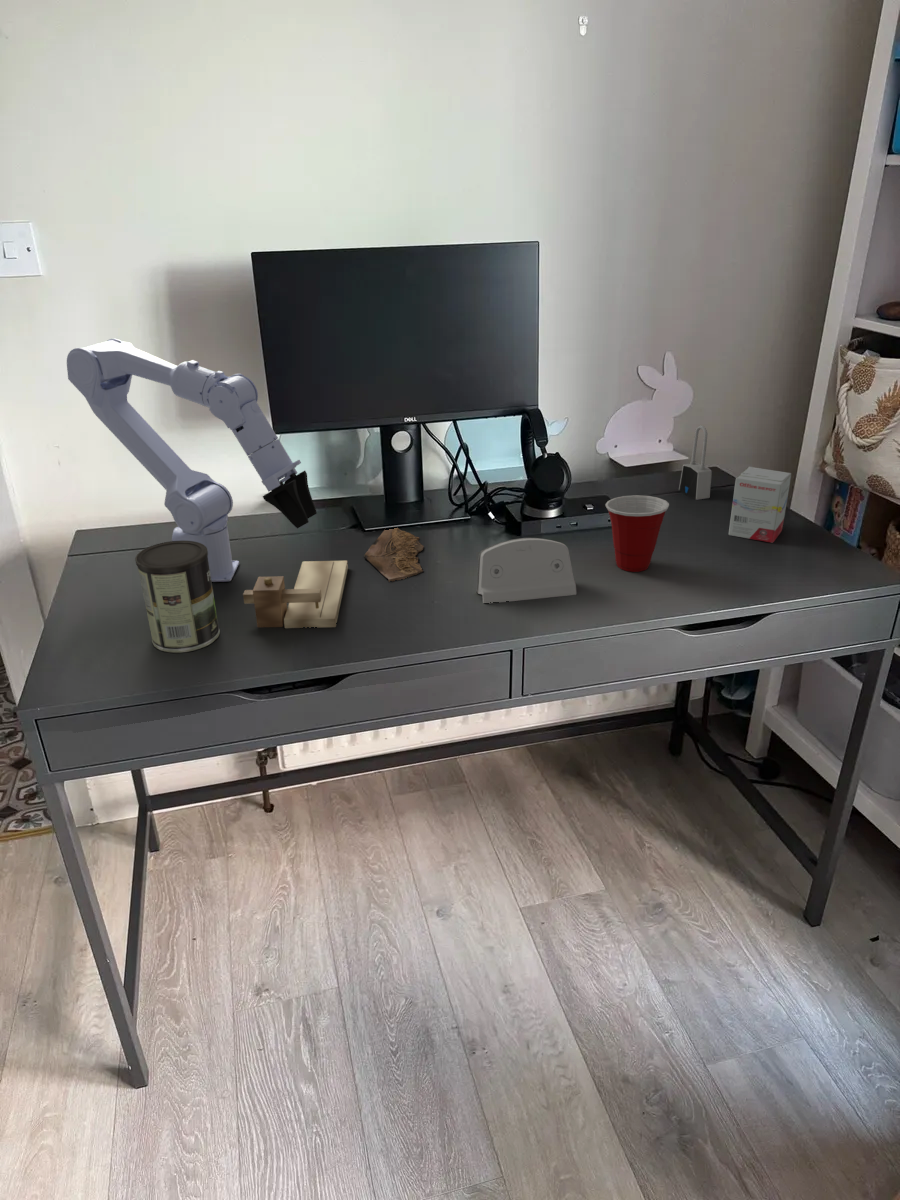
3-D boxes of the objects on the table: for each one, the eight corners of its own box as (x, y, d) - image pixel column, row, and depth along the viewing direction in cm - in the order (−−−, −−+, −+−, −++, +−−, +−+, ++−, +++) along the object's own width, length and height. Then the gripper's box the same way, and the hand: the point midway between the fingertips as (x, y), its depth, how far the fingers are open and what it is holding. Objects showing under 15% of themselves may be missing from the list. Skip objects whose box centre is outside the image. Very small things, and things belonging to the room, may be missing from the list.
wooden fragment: (423, 582, 151) (422, 577, 150) (360, 584, 150) (359, 578, 150) (423, 527, 174) (423, 522, 173) (368, 528, 173) (368, 523, 173)
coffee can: (207, 614, 140) (194, 534, 134) (229, 640, 133) (217, 557, 126) (143, 632, 135) (126, 549, 129) (162, 660, 128) (146, 574, 121)
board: (284, 628, 136) (283, 619, 135) (303, 569, 156) (302, 561, 155) (335, 627, 136) (335, 618, 135) (347, 568, 156) (347, 560, 155)
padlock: (711, 497, 185) (720, 428, 179) (694, 500, 184) (703, 431, 177) (693, 487, 191) (701, 420, 184) (677, 490, 190) (684, 422, 183)
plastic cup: (630, 548, 162) (636, 487, 156) (675, 567, 154) (682, 504, 149) (588, 562, 156) (592, 500, 151) (632, 583, 148) (638, 518, 143)
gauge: (244, 627, 136) (239, 586, 133) (250, 613, 141) (245, 572, 138) (320, 626, 136) (317, 585, 133) (324, 611, 141) (320, 571, 138)
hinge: (481, 604, 142) (477, 543, 141) (475, 600, 147) (471, 542, 146) (578, 594, 145) (575, 534, 144) (570, 591, 150) (566, 533, 148)
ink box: (783, 529, 169) (793, 471, 164) (772, 544, 163) (782, 484, 157) (739, 521, 173) (747, 464, 168) (726, 535, 167) (735, 476, 161)
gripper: (274, 440, 131) (320, 517, 135) (293, 431, 145) (334, 501, 149) (235, 462, 133) (282, 538, 136) (258, 451, 147) (300, 521, 150)
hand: (307, 520), depth 142 cm, fingers open, 7 cm apart
